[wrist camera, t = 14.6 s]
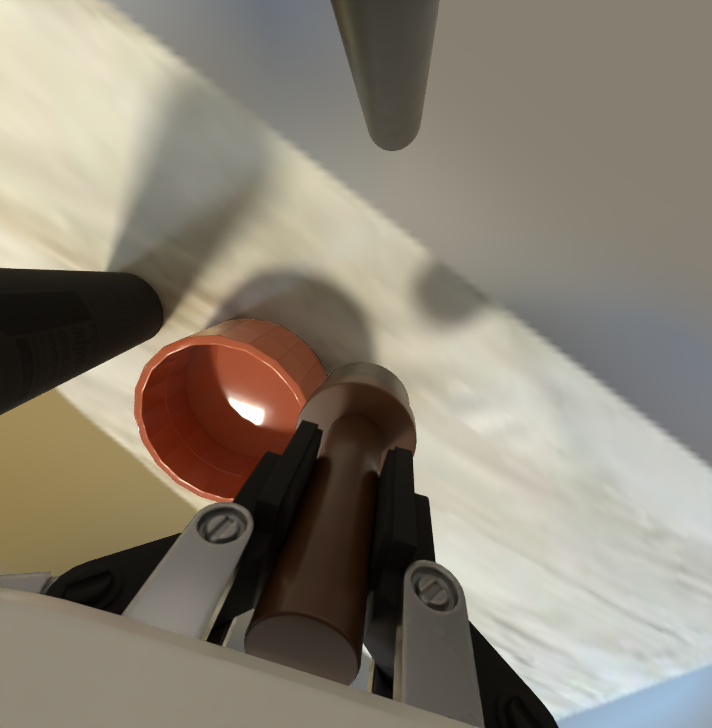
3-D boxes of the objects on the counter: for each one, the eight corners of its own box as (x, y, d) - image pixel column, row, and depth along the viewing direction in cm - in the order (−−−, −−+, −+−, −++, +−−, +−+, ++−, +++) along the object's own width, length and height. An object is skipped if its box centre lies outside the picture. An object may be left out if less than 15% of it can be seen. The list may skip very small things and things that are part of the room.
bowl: (189, 299, 24) (136, 312, 19) (346, 342, 23) (332, 366, 18) (178, 437, 27) (132, 477, 23) (314, 476, 27) (295, 525, 22)
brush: (325, 345, 16) (186, 519, 6) (427, 373, 16) (475, 605, 5) (305, 434, 18) (167, 697, 7) (397, 460, 17) (391, 769, 7)
